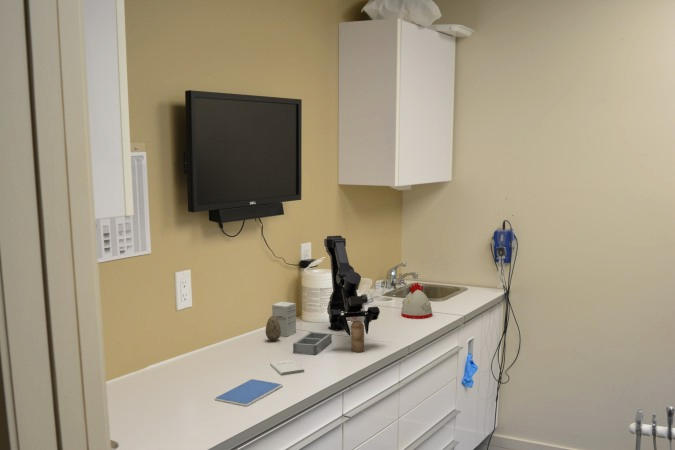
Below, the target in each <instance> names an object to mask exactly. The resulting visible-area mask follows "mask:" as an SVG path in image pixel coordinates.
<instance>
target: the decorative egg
mask: <svg viewBox="0 0 675 450" xmlns="http://www.w3.org/2000/svg"><path fill="white" fill-rule="evenodd" d="M280 334H281V328H280V324H279V322H278V320H277V318H276V317H275V316H272V315H271V316H269V318H268V320H267V322H266V325H265V335H266V338H267V339H268V340H269V341H272V342H275V341H277V340H279V338H280V337H281V335H280Z"/></svg>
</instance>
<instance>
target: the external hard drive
mask: <svg viewBox="0 0 675 450" xmlns="http://www.w3.org/2000/svg"><path fill="white" fill-rule="evenodd" d="M269 363H270V364H269V365H270V367H271V368H273V369H274V370H275V371H276V373H278V374H279V375H280V376H286V375H293V374H295V375H296V374H301V373H305V369H304V368H303V367H302V366H301V365H299V364H298V363H297V362H295V361H294V360H293V359H285V360H278V361H271V362H269Z"/></svg>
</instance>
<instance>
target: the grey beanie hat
mask: <svg viewBox="0 0 675 450" xmlns="http://www.w3.org/2000/svg"><path fill="white" fill-rule="evenodd" d="M423 288H424V287H423V286H422V284H419V282H414V284H413V283H411V286H410V287H409V291H410V292H409V293H408V294H407V295H406V296H405V298H404V299H402V305H401V311H400V313H401V314H400V315H401V317H402V318H406V319H411V320H423V319H424V320H425V319H429V318H432V317H433V309H432V306H431V301H430V300H429V298H428V296H427V295H426V293H424V292H423Z"/></svg>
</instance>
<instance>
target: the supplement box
mask: <svg viewBox="0 0 675 450" xmlns="http://www.w3.org/2000/svg"><path fill="white" fill-rule="evenodd" d="M296 306H297V303H295V302H289V301H279V302H278V301H277V302H276V303H273V304H271V308H272V309H271V310H272V313H271V314H272V315H271V316H275V317H276V318H277V320H278V322H279V324H280V328H281V334H280V337H289V336H292V335H294V334H296V333H297V309H296V308H297V307H296Z"/></svg>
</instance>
